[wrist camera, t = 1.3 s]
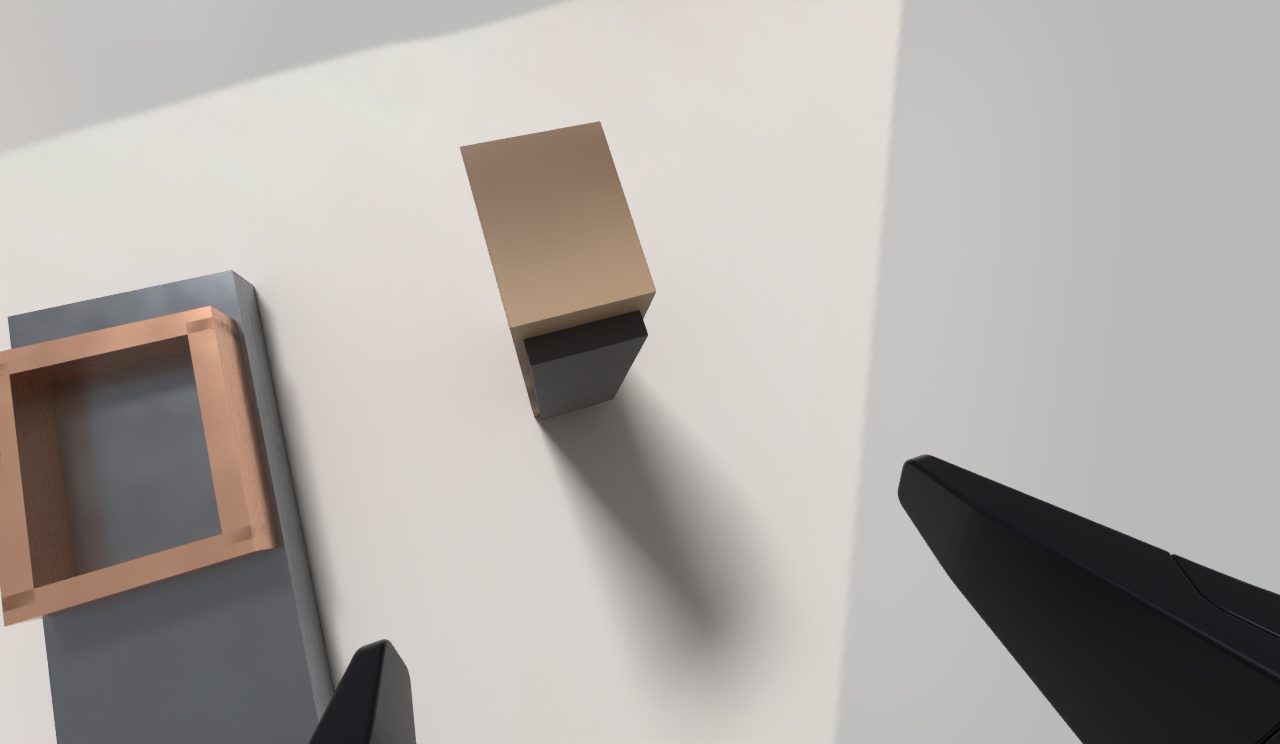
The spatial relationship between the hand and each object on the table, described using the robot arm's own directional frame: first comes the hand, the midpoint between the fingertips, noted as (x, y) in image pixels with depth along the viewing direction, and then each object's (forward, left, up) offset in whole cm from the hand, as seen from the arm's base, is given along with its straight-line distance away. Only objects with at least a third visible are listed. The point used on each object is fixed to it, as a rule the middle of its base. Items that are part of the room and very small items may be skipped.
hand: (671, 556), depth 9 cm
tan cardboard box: (+7, 0, -13) cm, 15 cm away
